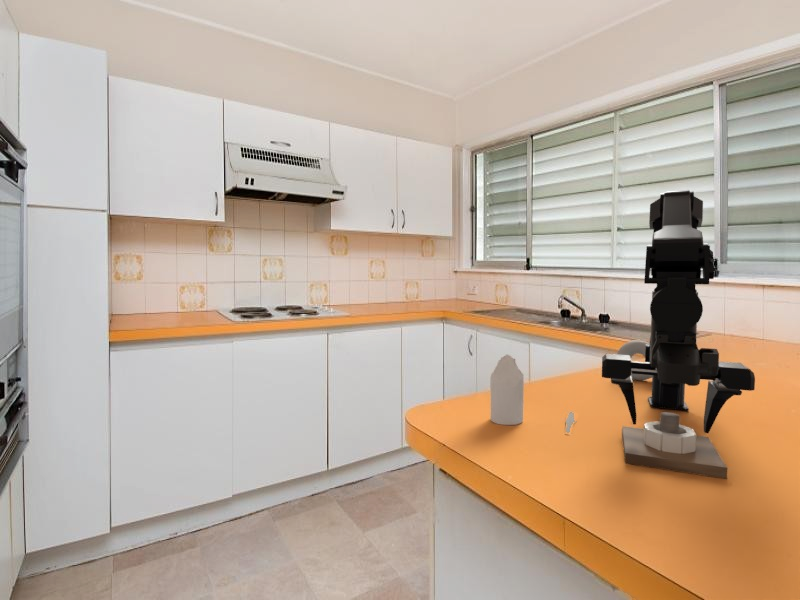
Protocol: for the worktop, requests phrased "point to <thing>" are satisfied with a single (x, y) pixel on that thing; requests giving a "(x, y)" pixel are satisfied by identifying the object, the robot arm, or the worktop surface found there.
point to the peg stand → (693, 462)
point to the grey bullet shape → (507, 392)
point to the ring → (670, 438)
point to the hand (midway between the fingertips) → (669, 428)
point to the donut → (635, 348)
